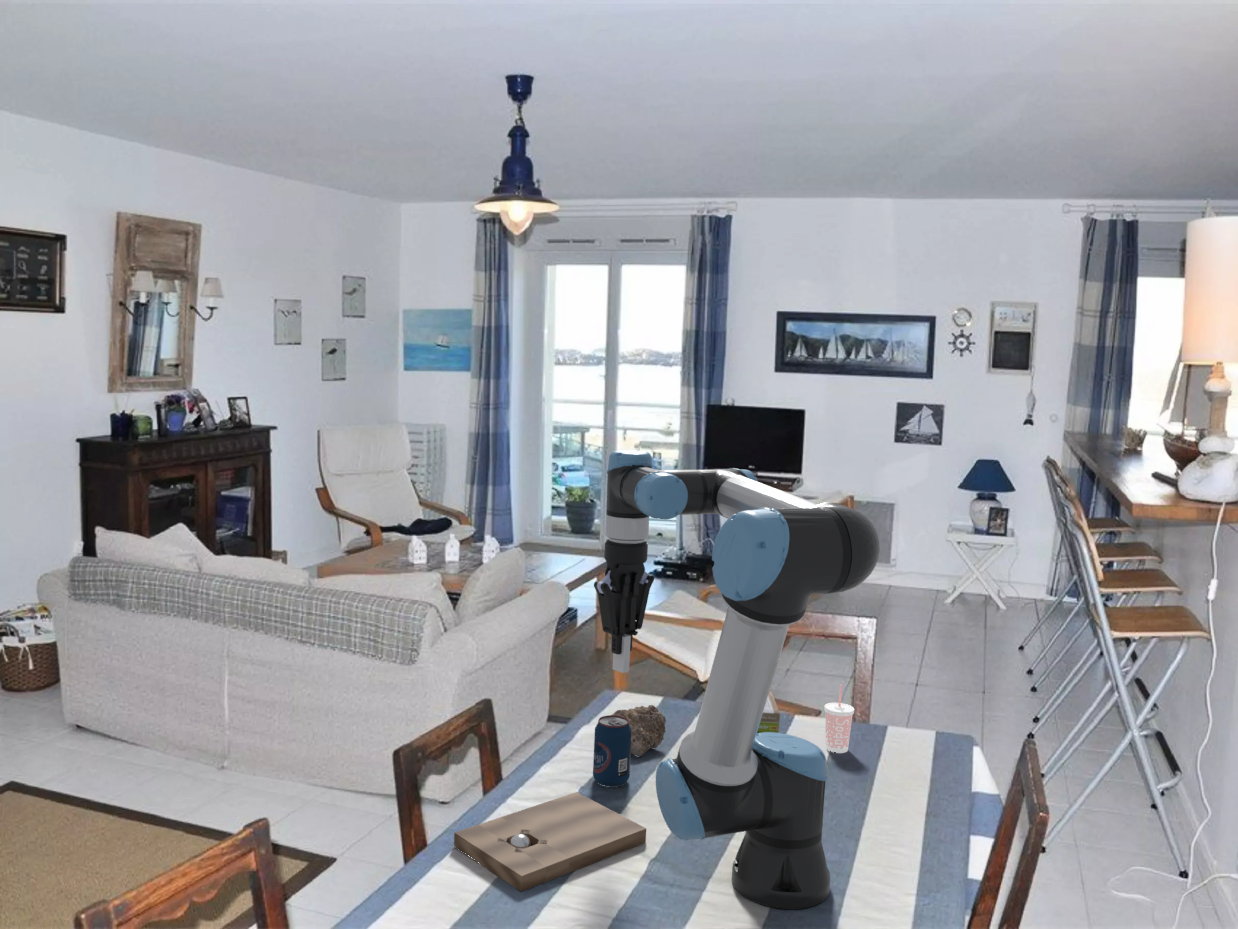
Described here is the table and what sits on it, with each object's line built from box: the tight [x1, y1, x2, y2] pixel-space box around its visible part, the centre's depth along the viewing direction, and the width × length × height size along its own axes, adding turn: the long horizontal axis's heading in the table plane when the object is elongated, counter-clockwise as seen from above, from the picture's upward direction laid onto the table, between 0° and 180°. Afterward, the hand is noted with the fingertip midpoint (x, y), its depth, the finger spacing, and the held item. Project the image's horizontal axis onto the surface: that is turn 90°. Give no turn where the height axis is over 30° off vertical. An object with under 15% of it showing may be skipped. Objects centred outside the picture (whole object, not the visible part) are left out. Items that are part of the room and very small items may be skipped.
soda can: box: [592, 714, 632, 788], centre depth 204 cm, size 7×7×12 cm
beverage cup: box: [823, 683, 855, 754], centre depth 225 cm, size 6×6×14 cm
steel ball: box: [509, 834, 531, 848], centre depth 174 cm, size 4×4×4 cm
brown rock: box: [611, 704, 667, 757], centre depth 221 cm, size 14×9×10 cm, turn 122°
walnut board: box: [453, 791, 647, 893], centre depth 178 cm, size 18×26×2 cm
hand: (620, 670), depth 191 cm, fingers closed
